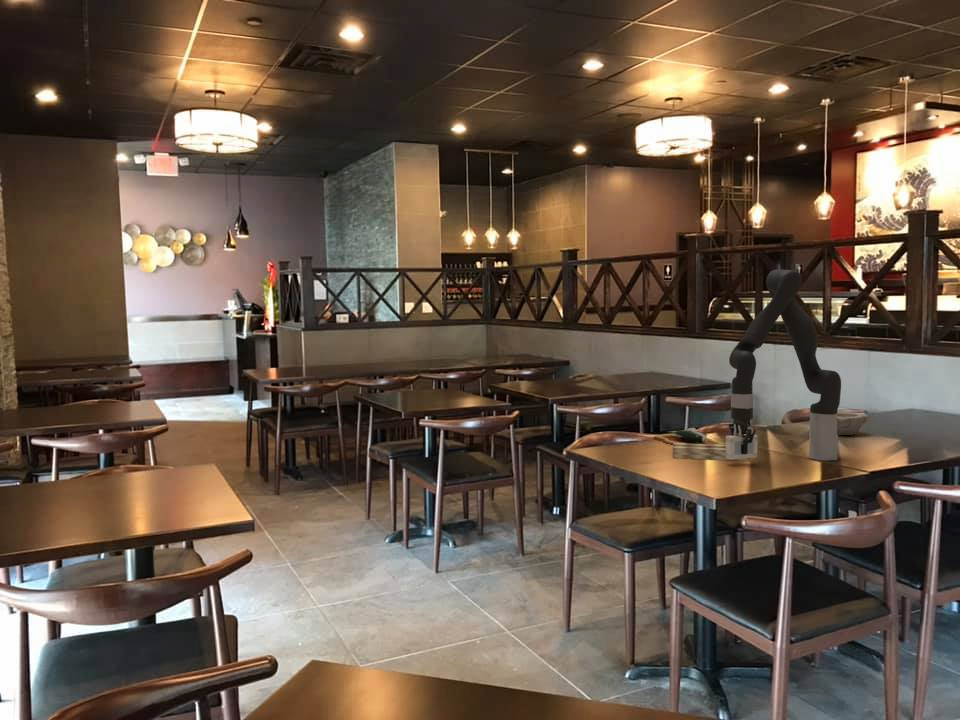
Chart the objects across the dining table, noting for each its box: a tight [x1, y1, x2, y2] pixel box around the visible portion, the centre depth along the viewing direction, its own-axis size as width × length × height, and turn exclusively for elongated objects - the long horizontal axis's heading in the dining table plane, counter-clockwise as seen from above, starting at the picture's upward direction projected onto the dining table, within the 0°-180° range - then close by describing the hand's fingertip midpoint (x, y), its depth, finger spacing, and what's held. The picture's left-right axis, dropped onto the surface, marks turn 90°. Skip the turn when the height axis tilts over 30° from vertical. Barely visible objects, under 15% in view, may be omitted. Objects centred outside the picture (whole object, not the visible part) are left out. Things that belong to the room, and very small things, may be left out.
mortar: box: [837, 411, 870, 436], centre depth 329 cm, size 17×17×9 cm
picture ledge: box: [672, 443, 752, 462], centre depth 283 cm, size 28×10×4 cm, turn 75°
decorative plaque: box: [653, 427, 726, 446], centre depth 311 cm, size 30×7×20 cm
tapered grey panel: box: [725, 434, 759, 460], centre depth 270 cm, size 11×3×8 cm, turn 104°
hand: (741, 453), depth 271 cm, fingers closed on tapered grey panel, 2 cm apart
